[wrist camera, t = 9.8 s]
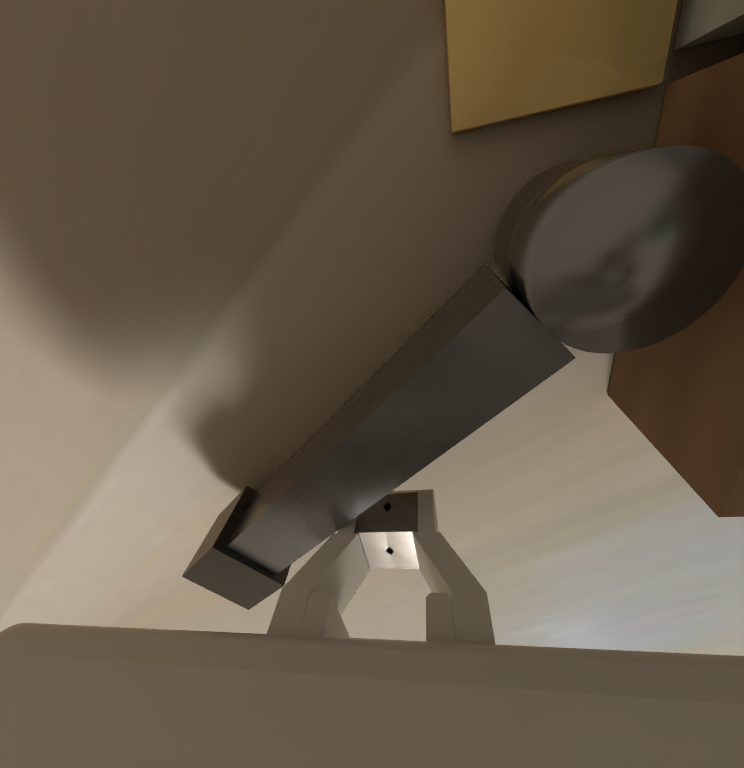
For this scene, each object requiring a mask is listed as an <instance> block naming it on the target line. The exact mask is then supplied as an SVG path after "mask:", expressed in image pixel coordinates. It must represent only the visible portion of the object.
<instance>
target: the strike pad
mask: <svg viewBox="0 0 744 768" xmlns="http://www.w3.org/2000/svg"><path fill="white" fill-rule="evenodd" d="M443 2H444V21H445V39H446V58H447V77H448V95H449V114H450V133H451V134H454V133H458V132H463V131H467V130H471V129H476V128H480V127H484V126H488V125H493V124H497V123H501V122H506V121H510V120H514V119H518V118H523V117H527V116H531V115H536V114H540V113H544V112H549V111H553V110H557V109H561V108H566V107H570V106H574V105H579V104H583V103H587V102H591V101H596V100H600V99H604V98H609V97H613V96H617V95H621V94H626V93H630V92H634V91H639V90H643V89H647V88H651V87H653V86H656V85H658V84H660V83H662V82H663V77H664V72H665V66H666V61H667V56H668V50H669V45H670V39H671V34H672V29H673V23H674V18H675V13H676V7H677V2H678V0H443Z"/></svg>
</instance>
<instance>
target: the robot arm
mask: <svg viewBox="0 0 744 768" xmlns="http://www.w3.org/2000/svg"><path fill="white" fill-rule="evenodd" d="M380 568H405V569H420V572H421V573H422V575H423V577H424V579H425V580H426V582H427V584H428V586H429V587H430V589H431V591H432V593H430V594H429V595H428V596H427V597H426V641H405V640H384V639H362V638H350V636H349V634H348V632H347V629H346V627H345V625H344V622H343V620H342V618H341V616H340V615H341V614H342V612H343V611H344V609H345V608H346V606H347V605H348V603H349V601H350V600H351V598H352V597H353V595H354V594H355V592H356V591H357V589H358V588H359V586H360V585H361V583H362V582H363V580H364V578H365V577H366V575H367V574H368V572H369V571H370V570H369V569H380ZM0 768H744V656H732V655H710V654H688V653H666V652H644V651H622V650H600V649H578V648H556V647H534V646H512V645H495V639H494V633H493V627H492V622H491V616H490V610H489V604H488V598H487V593H486V591H485V590H484V589H483V587H482V586H481V585H480V583H479V582H478V581H477V580H476V578H475V577H474V576H473V574H472V573H471V572H470V570H469V569H468V568H467V567H466V565H465V564H464V563H463V561H462V560H461V559H460V557H459V556H458V555H457V554H456V552H455V551H454V550H453V548H452V547H451V546H450V544H449V543H448V542H447V541H446V539H445V538H444V537H443V535H442V534H441V533H440V532H438V522H437V512H436V505H435V497H434V491H433V489H430V490H407V491H391V492H390V493H388V494H387V495H386V496H384V497H383V498H381V499H380V500H379V501H377V502H376V503H375V504H373V505H372V506H370V507H369V508H368V509H366V510H365V511H364V512H362V513H361V514H359V515H358V516H357V517H355V518H354V519H352V520H351V521H350V522H348V523H347V524H346V525H344V526H343V527H341V528H340V529H339V530H338V534H333V535H332V536H331V537H330V538H329V539H328V540H327V541H326V542H325V543H324V544H323V545H322V547H321V548H320V549H319V550H318V551H317V552H316V553H315V554H314V555H313V556H312V557H311V558H310V559H309V560H308V561H307V563H306V564H305V565H304V566H303V567H302V568H301V569H300V570H299V571H298V572H297V573H296V574H295V575H294V576H293V577H292V579H291V580H290V581H289V582H288V583H287V584H286V585H285V586H284V587H283V588H282V591H281V593H280V596H279V599H278V602H277V605H276V608H275V611H274V614H273V617H272V620H271V623H270V626H269V629H268V632H267V634H253V633H231V632H209V631H187V630H165V629H143V628H121V627H100V626H79V625H58V624H38V623H20V624H16V625H13V626H11V627H8V628H7V629H5V630H3V631H1V632H0Z"/></svg>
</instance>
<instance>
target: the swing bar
mask: <svg viewBox="0 0 744 768" xmlns="http://www.w3.org/2000/svg"><path fill="white" fill-rule="evenodd" d="M495 260H496V264H497V268H498V271H499V273H500V275H501V277H502V279H503V280H504V282H505V283H506V284H507V285H506V284H505V283H504V282H503V281H502V280H501V279H500V278H499V277H498V276H497V275H496V274H495V273H494V272H493V271H492V270H491V269H490V268H489V267H488V266H487V265H486V264H484V265H483V266H482V267H481V268H480V269H479V270H478V271H477V272H476V273H475V274H474V275H473V276H472V277H471V278H470V279H469V280H468V281H467V282H466V283H465V284H464V285H463V286H462V287H461V288H460V289H459V290H458V291H457V292H456V293H455V294H454V295H453V296H452V297H451V298H450V299H449V300H448V301H447V302H446V303H445V304H444V305H443V306H442V307H441V308H440V309H439V310H438V311H437V312H436V313H435V314H434V315H433V316H432V317H431V318H430V319H429V320H428V321H427V322H426V323H425V324H424V325H423V326H422V327H421V328H420V329H419V330H418V331H417V332H416V333H415V334H414V335H413V336H412V337H411V338H410V339H409V340H408V341H407V342H406V343H405V344H404V345H403V346H402V347H401V348H400V349H399V350H398V351H397V352H396V353H395V354H394V355H393V356H392V357H391V358H390V359H389V360H388V361H387V362H386V363H385V364H384V365H383V366H382V367H381V368H380V369H379V370H378V371H377V372H376V373H375V374H374V375H373V376H372V377H371V378H370V379H369V380H368V381H367V382H366V383H365V384H364V385H363V386H362V387H361V388H360V389H359V390H358V391H357V392H356V393H355V394H354V395H353V396H352V397H351V398H350V399H349V400H348V401H347V402H346V403H345V404H344V405H343V406H342V407H341V408H340V409H339V410H338V411H337V412H336V413H335V414H334V415H333V416H332V417H331V418H330V419H329V420H328V421H327V422H326V423H325V424H324V425H323V426H322V427H321V428H320V429H319V430H318V431H317V432H316V433H315V434H314V435H313V436H312V437H311V438H310V439H309V440H308V441H307V442H306V443H305V444H304V445H303V446H302V447H301V448H300V449H299V450H298V451H297V452H296V453H295V454H294V455H293V456H292V457H291V458H290V459H289V460H288V461H287V462H286V463H285V464H284V465H283V466H282V467H281V468H280V469H279V470H278V471H277V472H276V473H275V474H274V475H273V476H272V477H271V478H270V479H269V480H268V481H267V482H266V483H265V484H264V485H263V486H262V487H261V488H260V489H259V490H258V491H257V492H256V491H255V490H253V489H251V488H250V487H248V486H246V487H245V488H244V489H243V491H242V492H241V493H240V494H239V495H238V496H237V497H236V498H235V499H234V500H233V501H232V502H231V503H230V504H229V505H228V506H227V507H226V508H225V509H224V510H223V511H222V513H221V514H220V515H219V516H218V517H217V519H216V521H215V522H214V524H213V526H212V527H211V529H210V531H209V532H208V534H207V536H206V537H205V539H204V541H203V542H202V544H201V546H200V547H199V549H198V551H197V552H196V554H195V556H194V557H193V559H192V561H191V562H190V564H189V566H188V567H187V569H186V571H185V572H184V574H183V576H182V577H184V578H186V579H188V580H190V581H192V582H194V583H196V584H198V585H200V586H202V587H204V588H206V589H208V590H210V591H212V592H214V593H216V594H218V595H220V596H222V597H224V598H226V599H228V600H230V601H232V602H234V603H236V604H238V605H240V606H242V607H244V608H246V609H248V610H249V609H250V608H252V607H253V606H255V605H256V604H258V603H259V602H261V601H262V600H264V599H265V598H267V597H268V596H270V595H271V594H273V593H274V592H275V591H277V590H278V589H280V588H281V587H283V586H284V584H285V581H286V578H287V575H288V572H289V569H290V566H291V564H292V563H293V562H295V561H296V560H297V559H299V558H300V557H301V556H303V555H304V554H306V553H307V552H308V551H310V550H311V549H312V548H314V547H315V546H317V545H318V544H319V543H321V542H322V541H324V540H325V539H326V538H328V537H329V536H330V535H332V534H333V533H335V532H336V531H337V530H339V529H340V528H341V527H343V526H344V525H346V524H347V523H348V522H350V521H351V520H352V519H354V518H355V517H357V516H358V515H359V514H361V513H362V512H364V511H365V510H366V509H368V508H369V507H370V506H372V505H373V504H375V503H376V502H377V501H379V500H380V499H381V498H383V497H384V496H386V495H387V494H388V493H390V492H391V491H392V490H394V489H395V488H397V487H398V486H399V485H401V484H402V483H404V482H405V481H406V480H408V479H409V478H410V477H412V476H413V475H415V474H416V473H417V472H419V471H420V470H421V469H423V468H424V467H426V466H427V465H428V464H430V463H431V462H432V461H434V460H435V459H437V458H438V457H439V456H441V455H442V454H444V453H445V452H446V451H448V450H449V449H450V448H452V447H453V446H455V445H456V444H457V443H459V442H460V441H461V440H463V439H464V438H466V437H467V436H468V435H470V434H471V433H472V432H474V431H475V430H477V429H478V428H479V427H481V426H482V425H484V424H485V423H486V422H488V421H489V420H490V419H492V418H493V417H495V416H496V415H497V414H499V413H500V412H501V411H503V410H504V409H506V408H507V407H508V406H510V405H511V404H513V403H514V402H515V401H517V400H518V399H519V398H521V397H522V396H524V395H525V394H526V393H528V392H529V391H530V390H532V389H533V388H535V387H536V386H537V385H539V384H540V383H541V382H543V381H544V380H546V379H547V378H548V377H550V376H551V375H553V374H554V373H555V372H557V371H558V370H559V369H561V368H562V367H564V366H565V365H566V364H568V363H569V362H570V361H572V360H573V359H575V357H574V355H573V354H572V353H571V352H570V351H569V350H568V349H567V348H566V347H565V346H564V345H563V343H564V344H566V345H568V346H571V347H573V348H576V349H579V350H583V351H586V352H593V353H620V352H626V351H632V350H636V349H640V348H643V347H647V346H650V345H652V344H655V343H657V342H660V341H662V340H664V339H666V338H668V337H670V336H672V335H674V334H676V333H678V332H679V331H681V330H683V329H684V328H686V327H688V326H689V325H690V324H692V323H693V322H695V321H696V320H697V319H699V318H700V317H701V316H702V315H703V314H705V313H706V312H707V311H708V310H709V309H710V308H712V306H713V305H714V304H715V303H716V302H717V301H718V300H719V299H720V298H721V297H722V296H723V295H724V294H725V292H726V291H727V290H728V289H729V287H730V286H731V285H732V284H733V282H734V281H735V279H736V278H737V276H738V274H739V273H740V271H741V270H742V268H743V266H744V172H743V171H742V169H741V168H740V167H739V166H738V165H737V164H736V163H735V162H733V161H732V160H731V159H730V158H728V157H726V156H724V155H722V154H720V153H719V152H717V151H714V150H710V149H707V148H703V147H698V146H689V145H678V146H665V147H659V148H653V149H646V150H640V151H633V152H627V153H621V154H614V155H608V156H601V157H595V158H589V159H582V160H576V161H570V162H566V163H562V164H559V165H556V166H554V167H552V168H550V169H547V170H545V171H544V172H542V173H541V174H539V175H537V176H536V177H535V178H533V179H532V180H531V181H529V182H528V183H527V184H526V185H525V186H524V187H523V188H522V189H521V190H520V191H519V192H518V193H517V194H516V196H515V197H514V198H513V199H512V201H511V202H510V204H509V205H508V207H507V208H506V210H505V212H504V214H503V216H502V218H501V221H500V223H499V226H498V230H497V233H496V239H495ZM562 342H563V343H562Z"/></svg>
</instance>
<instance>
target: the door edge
mask: <svg viewBox="0 0 744 768" xmlns="http://www.w3.org/2000/svg"><path fill="white" fill-rule="evenodd" d="M743 33H744V0H683V3H682V8H681V13H680V19H679V24H678V29H677V34H676V40H675V45H674V50H673V51H675V50H679V49H683V48H687V47H691V46H695V45H699V44H703V43H707V42H711V41H715V40H719V39H723V38H727V37H731V36H735V35H739V34H743ZM678 145H689V146H698V147H703V148H707V149H710V150H714V151H717V152H719V153H720V154H722V155H724V156H726V157H728V158H730V159H731V160H732V161H733V162H735V163H736V164H737V165H738V166H739V167H740V168H741V169H742V171H743V172H744V53H742V54H739V55H737V56H734V57H732V58H729V59H727V60H725V61H722V62H720V63H717V64H715V65H712V66H710V67H707V68H705V69H702V70H700V71H697V72H695V73H693V74H690V75H688V76H685V77H683V78H680V79H678V80H675V81H673V82H670V83H668V84H667V87H666V92H665V97H664V102H663V107H662V113H661V118H660V123H659V128H658V134H657V139H656V144H655V148H659V147H665V146H678ZM608 396H609V397H610V398H611V399H612V400H613V401H614V402H615V404H616V405H617V406H618V407H619V408H620V409H621V410H622V411H623V412H624V414H625V415H626V416H627V417H628V418H629V419H630V420H631V421H632V422H633V423H634V425H635V426H636V427H637V428H638V429H639V430H640V431H641V432H642V433H643V434H644V436H645V437H646V438H647V439H648V440H649V441H650V442H651V443H652V444H653V445H654V447H655V448H656V449H657V450H658V451H659V452H660V453H661V454H662V455H663V457H664V458H665V459H666V460H667V461H668V462H669V463H670V464H671V465H672V466H673V468H674V469H675V470H676V471H677V472H678V473H679V474H680V475H681V476H682V477H683V479H684V480H685V481H686V482H687V483H688V484H689V485H690V486H691V487H692V488H693V490H694V491H695V492H696V493H697V494H698V495H699V496H700V497H701V498H702V500H703V501H704V502H705V503H706V504H707V505H708V506H709V507H710V508H711V509H712V511H713V512H714V513H715V514H716V515H717V516H718V517H744V266H743V268H742V270H741V271H740V273H739V274H738V276H737V278H736V279H735V281H734V282H733V284H732V285H731V286H730V287H729V289H728V290H727V291H726V292H725V294H724V295H723V296H722V297H721V298H720V299H719V300H718V301H717V302H716V303H715V304H714V305H713V306H712V308H710V309H709V310H708V311H707V312H706V313H705V314H703V315H702V316H701V317H700V318H699V319H697V320H696V321H695V322H693V323H692V324H690V325H689V326H688V327H686V328H684V329H683V330H681V331H679V332H678V333H676V334H674V335H672V336H670V337H668V338H666V339H664V340H662V341H660V342H657V343H655V344H652V345H650V346H647V347H643V348H640V349H636V350H632V351H626V352H620V353H615V358H614V363H613V368H612V374H611V379H610V384H609V389H608Z"/></svg>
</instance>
